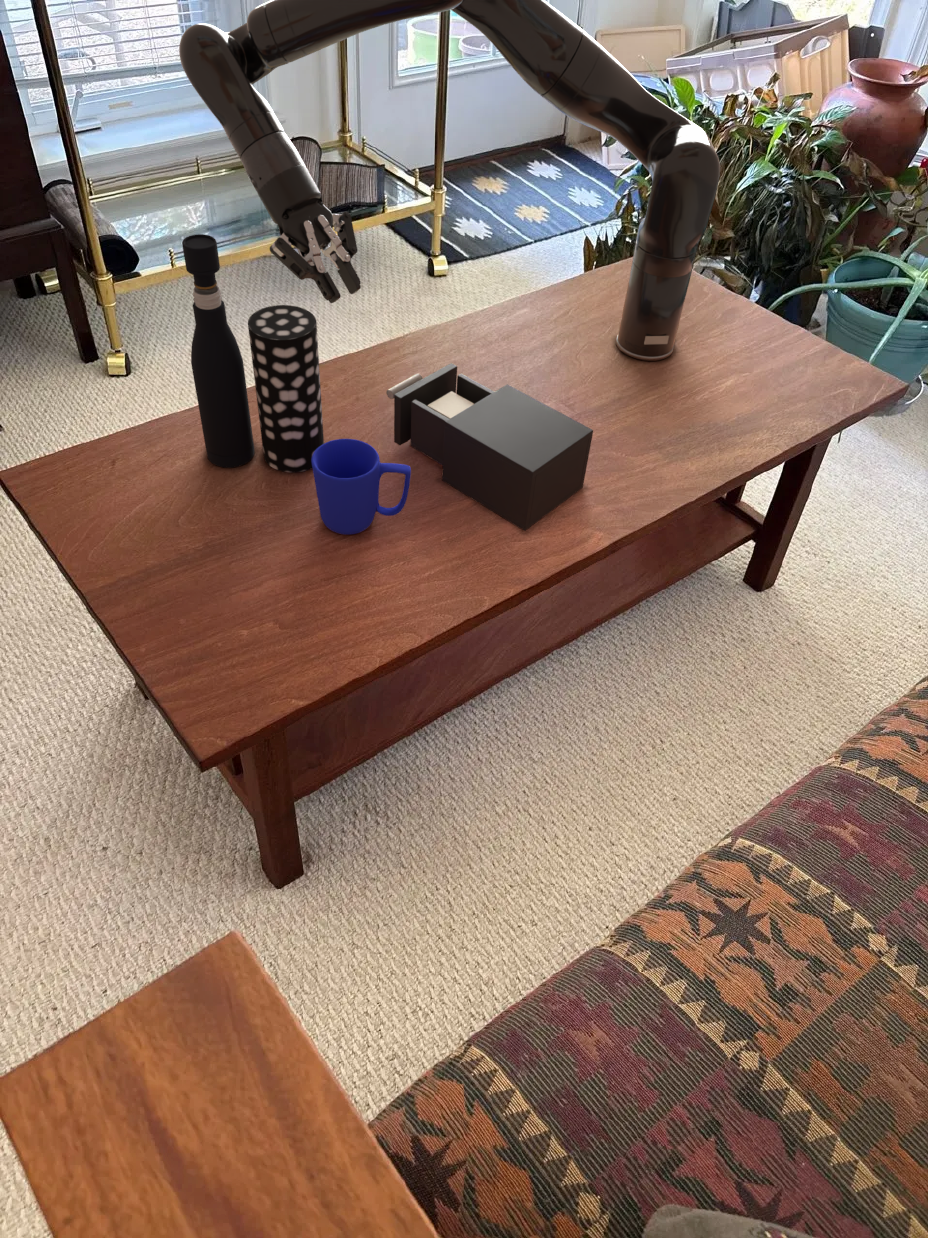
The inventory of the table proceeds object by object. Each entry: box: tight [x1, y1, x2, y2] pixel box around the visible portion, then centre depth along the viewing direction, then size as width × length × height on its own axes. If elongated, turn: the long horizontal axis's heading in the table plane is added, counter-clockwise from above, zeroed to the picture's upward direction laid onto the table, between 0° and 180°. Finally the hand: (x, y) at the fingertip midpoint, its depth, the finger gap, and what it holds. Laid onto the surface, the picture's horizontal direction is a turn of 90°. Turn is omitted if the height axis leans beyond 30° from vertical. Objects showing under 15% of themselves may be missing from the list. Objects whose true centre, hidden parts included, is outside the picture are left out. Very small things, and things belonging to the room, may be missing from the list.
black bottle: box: [181, 233, 256, 469], centre depth 119 cm, size 6×6×30 cm
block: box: [427, 391, 474, 419], centre depth 131 cm, size 5×5×5 cm
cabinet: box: [441, 383, 594, 532], centre depth 126 cm, size 15×13×10 cm
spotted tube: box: [247, 304, 325, 473], centre depth 124 cm, size 8×8×20 cm
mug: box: [311, 438, 412, 536], centre depth 119 cm, size 8×12×10 cm
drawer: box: [385, 362, 495, 466], centre depth 131 cm, size 18×11×8 cm, turn 48°
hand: (346, 295), depth 132 cm, fingers open, 3 cm apart
